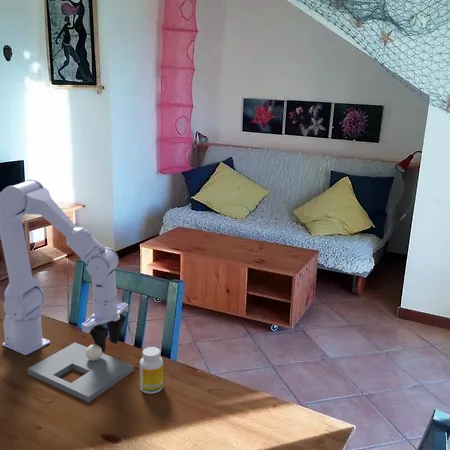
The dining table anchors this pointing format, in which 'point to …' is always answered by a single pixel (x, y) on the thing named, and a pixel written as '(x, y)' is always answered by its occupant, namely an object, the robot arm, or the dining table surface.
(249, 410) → the dining table surface
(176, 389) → the dining table surface
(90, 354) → the ball
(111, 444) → the dining table surface
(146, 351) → the supplement bottle
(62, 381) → the plate
